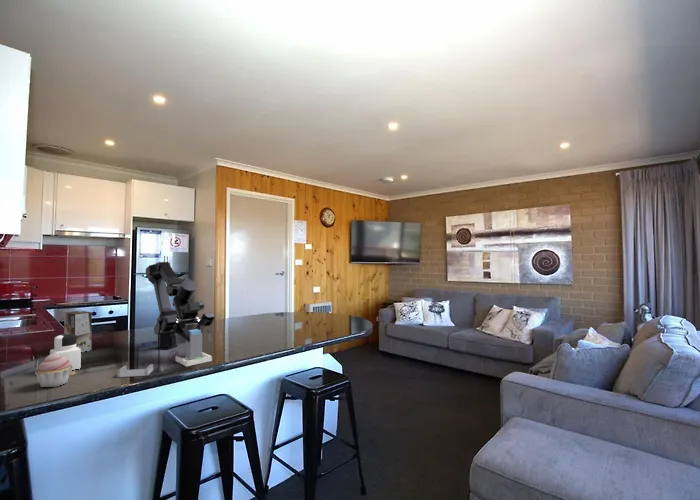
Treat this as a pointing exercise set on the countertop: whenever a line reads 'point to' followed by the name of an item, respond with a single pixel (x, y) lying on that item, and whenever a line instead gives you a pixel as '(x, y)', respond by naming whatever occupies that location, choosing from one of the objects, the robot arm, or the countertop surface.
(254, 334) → the countertop surface
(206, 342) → the countertop surface
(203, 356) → the dock tray
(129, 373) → the shallow white tray
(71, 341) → the medicine bottle
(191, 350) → the fibre plug
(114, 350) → the countertop surface
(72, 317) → the coffee box
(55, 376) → the cupcake
